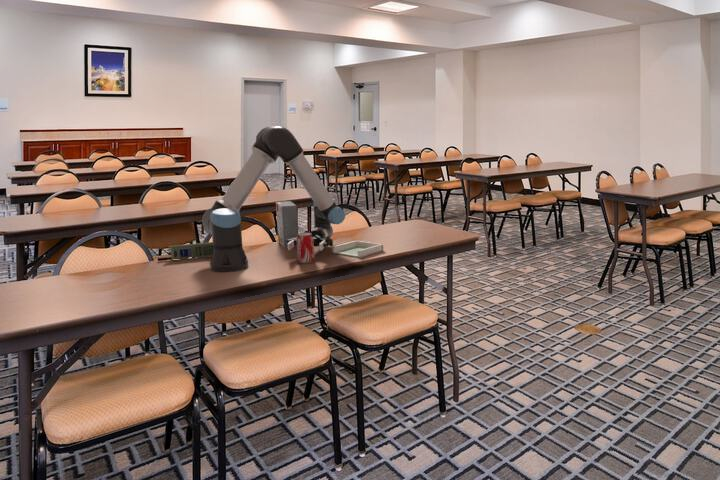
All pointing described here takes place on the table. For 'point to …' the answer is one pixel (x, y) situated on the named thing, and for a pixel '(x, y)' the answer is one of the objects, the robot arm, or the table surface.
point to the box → (357, 249)
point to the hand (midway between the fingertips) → (304, 246)
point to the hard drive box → (286, 222)
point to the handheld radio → (189, 251)
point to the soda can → (305, 247)
